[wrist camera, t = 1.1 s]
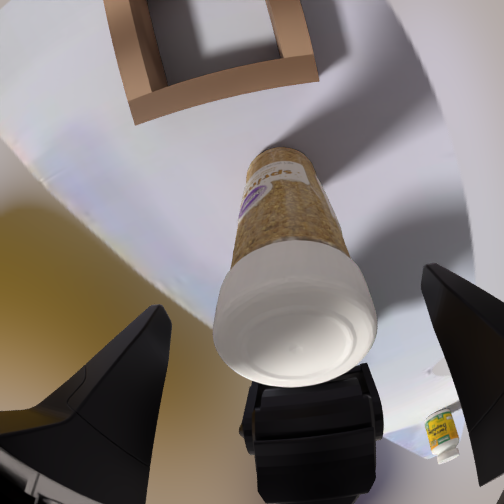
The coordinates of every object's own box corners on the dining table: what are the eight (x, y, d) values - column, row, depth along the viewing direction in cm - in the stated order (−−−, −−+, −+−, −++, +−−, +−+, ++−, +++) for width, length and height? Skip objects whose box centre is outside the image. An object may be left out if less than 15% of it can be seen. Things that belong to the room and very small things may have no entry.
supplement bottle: (431, 423, 40) (442, 465, 32) (418, 421, 39) (429, 466, 31) (454, 409, 38) (467, 452, 30) (442, 406, 36) (456, 453, 28)
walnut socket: (311, 81, 15) (319, 81, 13) (154, 118, 17) (135, 125, 14) (274, -53, 10) (274, -73, 7) (122, -8, 12) (100, -18, 9)
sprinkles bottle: (264, 134, 17) (254, 252, 6) (328, 165, 18) (415, 317, 7) (235, 195, 19) (190, 369, 8) (295, 222, 20) (320, 403, 9)
